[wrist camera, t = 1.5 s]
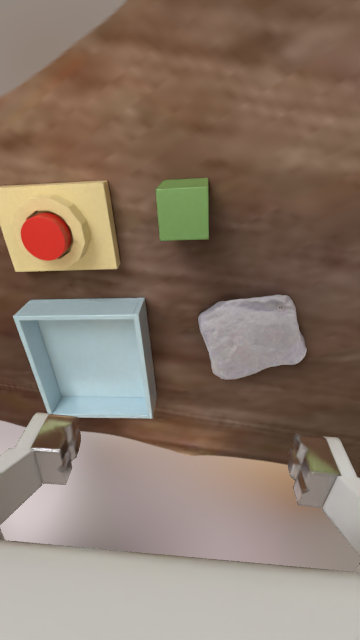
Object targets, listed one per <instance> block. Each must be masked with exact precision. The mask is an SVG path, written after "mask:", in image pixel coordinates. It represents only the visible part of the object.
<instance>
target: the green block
mask: <svg viewBox="0 0 360 640" xmlns="http://www.w3.org/2000/svg"><path fill="white" fill-rule="evenodd" d="M156 200H157V211H158V223H159V234H160V241H172V240H201V239H209V202H208V178H195V179H176V180H164V181H163V182H162V183H161V184H160V185H159V186H158V187H157V189H156Z"/></svg>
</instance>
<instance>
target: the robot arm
mask: <svg viewBox="0 0 360 640" xmlns="http://www.w3.org/2000/svg"><path fill="white" fill-rule="evenodd" d="M78 425H79V421H78V417H76V416H67V415H58V414H47V413H36V414H35V415H34V416H33V417H32V419H31V421H30V423H29V424H28V426H27V428H26V430H25V431H24V433H23V434H22V436H21V438H20V440H19V441H18V443H17V444H16V446H15V448H10V449H8V450H7V451H5V452H4V453H2V454H1V455H0V525H1V524H2V523H3V522H4V521H5V520H6V519H7V518H8V517H9V516H10V515H11V514H12V513H13V512H14V511H15V510H16V509H18V508H19V507H20V506H21V505H22V503H24V502H25V501H26V500H27V499H28V498H29V497H30V496H31V495H32V494H33V493H34V492H35V491H36V490H37V489H38V488H39V487H41V486H42V483H43V484H61V485H66V483H67V480H68V478H69V475H70V472H71V470H72V464H71V461H72V460H74V459H75V458H76V457H77V454H78V451H79V447H80V442H81V435H80V431H79V430H78V429H77V427H78ZM293 444H294V447H292V448H291V449H290V451H289V454H288V469H289V473H290V476H291V477H292V478H293V479H294V480H295V483H294V486H293V489H294V493H295V496H296V500H297V504H298V505H302V506H310V507H319V508H322V510H323V511H324V513H325V514H326V515H327V516H328V517H329V519H330V520H331V521H332V522H333V524H334V525H335V526H336V528H337V529H338V530H339V531H340V533H341V534H342V535H343V536H344V537H345V539H346V540H347V541H348V542H349V544H350V545H351V546H352V548H353V549H354V550H355V551H356V553H357V554H358V555H359V556H360V478H358V477H357V475H356V473H355V471H354V469H353V467H352V464H351V462H350V460H349V458H348V456H347V454H346V451H345V449H344V447H343V445H342V443H341V441H340V439H339V438H337V437H323V436H313V435H298V434H296V435H295V436H294V439H293ZM0 640H360V563H359V565H358V566H357V568H356V569H355V571H354V572H348V571H337V570H325V569H315V568H304V567H293V566H282V565H271V564H260V563H249V562H239V561H228V560H216V559H206V558H194V557H184V556H172V555H161V554H149V553H139V552H128V551H116V550H106V549H95V548H84V547H73V546H61V545H51V544H40V543H29V542H17V541H6V540H5V539H4V536H3V534H2V532H1V529H0Z"/></svg>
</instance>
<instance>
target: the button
mask: <svg viewBox="0 0 360 640" xmlns="http://www.w3.org/2000/svg"><path fill="white" fill-rule="evenodd" d="M21 239H22V242H23V244H24V246H25V248H26V249H27V250H28V252H29V253H31V254H32V255H33V256H35V257H36V258H38V259H41V260H46V261H50V260H55V259H57V258H59V257H60V256H61V255H62V254H63V253H64V252H66V251H67V250H68V248H69V247H70V244H71V233H70V230H69V228H68V226H67V225H66V223H65V222H64V221H63V220H62V219H61V218H59V217H58V216H56V215H54V214H51V213H40V214H37V215H35V216H33V217H31V218H29V219H27V220H26V221H25V222H24V224H23V225H22V228H21Z"/></svg>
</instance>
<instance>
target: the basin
mask: <svg viewBox="0 0 360 640" xmlns="http://www.w3.org/2000/svg"><path fill="white" fill-rule="evenodd" d="M13 318H14V320H15V323H16V326H17V329H18V331H19V334H20V337H21V340H22V343H23V345H24V348H25V351H26V354H27V357H28V359H29V362H30V365H31V368H32V370H33V373H34V376H35V379H36V382H37V384H38V387H39V390H40V393H41V396H42V398H43V401H44V404H45V407H46V409H47V412H48V414H58V415H67V416H76V417H87V418H149V419H153V414H154V409H155V404H156V399H157V393H156V385H155V377H154V369H153V361H152V352H151V344H150V336H149V328H148V320H147V312H146V304H145V298H102V299H49V300H30V301H29V302H28V303H27V304H26V305H25V306H24V307H22V308H21V309H20V310H19V311H18V312H17V313H16V314H15V315H14V316H13Z"/></svg>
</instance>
